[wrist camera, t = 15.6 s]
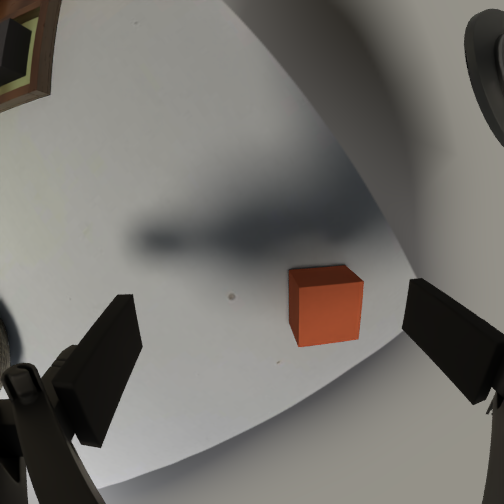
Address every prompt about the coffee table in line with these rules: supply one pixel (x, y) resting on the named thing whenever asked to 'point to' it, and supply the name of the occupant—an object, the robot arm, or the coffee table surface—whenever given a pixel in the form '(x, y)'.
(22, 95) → the frame
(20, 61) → the black cube
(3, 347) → the planter
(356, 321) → the orange block
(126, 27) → the coffee table surface
